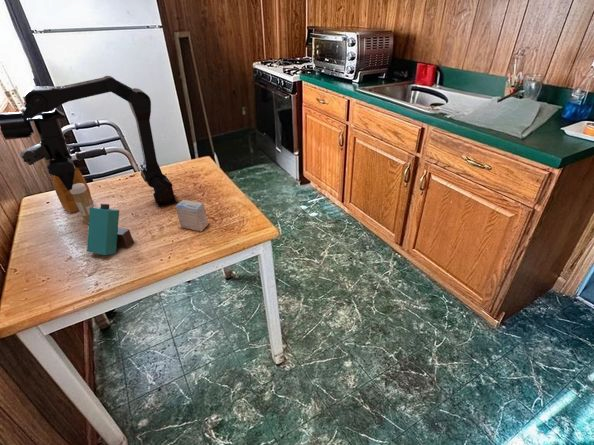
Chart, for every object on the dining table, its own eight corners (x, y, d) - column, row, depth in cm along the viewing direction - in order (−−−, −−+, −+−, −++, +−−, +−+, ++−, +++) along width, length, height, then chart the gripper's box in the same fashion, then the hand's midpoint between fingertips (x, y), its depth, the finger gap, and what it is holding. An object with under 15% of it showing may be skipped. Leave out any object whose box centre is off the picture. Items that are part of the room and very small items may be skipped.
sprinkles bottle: (100, 221, 113) (85, 186, 106) (85, 225, 111) (68, 190, 104) (98, 215, 116) (83, 181, 109) (83, 219, 114) (68, 185, 107)
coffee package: (89, 193, 130) (66, 139, 117) (97, 206, 122) (73, 149, 109) (60, 202, 124) (33, 146, 112) (67, 215, 116) (38, 157, 104)
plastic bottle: (113, 237, 105) (97, 199, 98) (130, 240, 104) (116, 202, 96) (89, 256, 97) (70, 217, 90) (107, 260, 96) (90, 220, 88)
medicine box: (208, 224, 110) (204, 202, 105) (201, 232, 107) (196, 209, 102) (188, 220, 112) (183, 198, 107) (180, 228, 109) (174, 205, 104)
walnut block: (107, 237, 105) (102, 224, 102) (134, 242, 103) (129, 229, 100) (100, 243, 103) (94, 230, 100) (127, 248, 100) (122, 234, 98)
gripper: (17, 129, 97) (37, 178, 105) (14, 148, 84) (37, 202, 93) (62, 125, 103) (77, 171, 111) (65, 142, 90) (83, 193, 98)
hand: (68, 184), depth 103 cm, fingers open, 9 cm apart
